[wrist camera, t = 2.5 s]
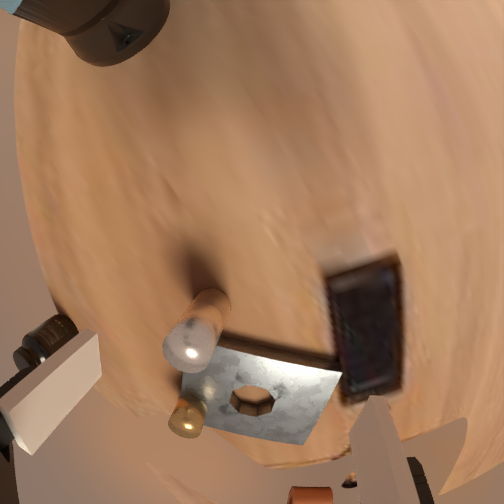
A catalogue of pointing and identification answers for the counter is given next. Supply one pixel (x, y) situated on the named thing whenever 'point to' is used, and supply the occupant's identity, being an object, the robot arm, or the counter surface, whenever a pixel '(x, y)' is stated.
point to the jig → (259, 375)
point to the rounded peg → (197, 332)
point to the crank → (310, 495)
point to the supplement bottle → (44, 341)
